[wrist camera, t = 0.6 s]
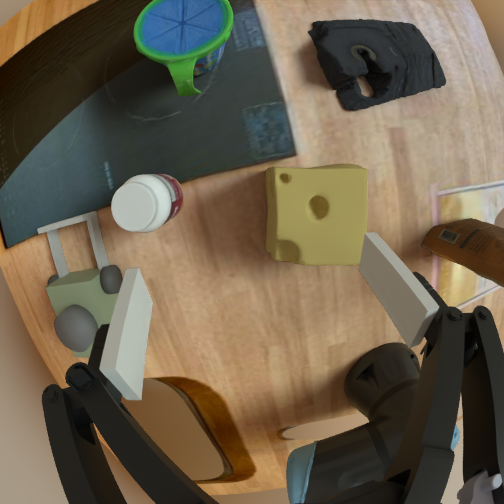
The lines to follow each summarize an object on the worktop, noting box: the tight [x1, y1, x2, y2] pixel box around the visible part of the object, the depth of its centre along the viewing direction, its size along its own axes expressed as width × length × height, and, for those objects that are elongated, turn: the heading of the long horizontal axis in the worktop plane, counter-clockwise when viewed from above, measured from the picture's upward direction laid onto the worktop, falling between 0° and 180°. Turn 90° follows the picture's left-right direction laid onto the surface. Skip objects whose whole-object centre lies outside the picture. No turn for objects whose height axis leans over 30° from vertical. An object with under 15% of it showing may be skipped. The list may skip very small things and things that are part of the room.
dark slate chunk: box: [308, 19, 446, 111], centre depth 28 cm, size 15×22×5 cm
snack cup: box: [134, 0, 233, 96], centre depth 24 cm, size 16×10×10 cm
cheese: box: [265, 164, 368, 265], centre depth 31 cm, size 10×11×10 cm
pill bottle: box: [111, 174, 184, 233], centre depth 29 cm, size 6×6×11 cm
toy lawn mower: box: [38, 211, 123, 357], centre depth 33 cm, size 21×12×9 cm, turn 9°
